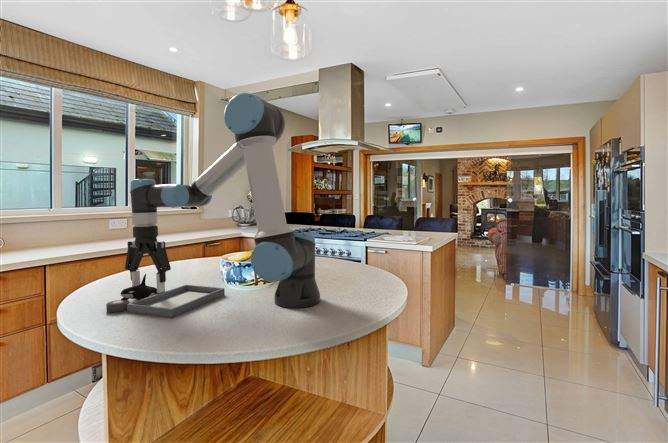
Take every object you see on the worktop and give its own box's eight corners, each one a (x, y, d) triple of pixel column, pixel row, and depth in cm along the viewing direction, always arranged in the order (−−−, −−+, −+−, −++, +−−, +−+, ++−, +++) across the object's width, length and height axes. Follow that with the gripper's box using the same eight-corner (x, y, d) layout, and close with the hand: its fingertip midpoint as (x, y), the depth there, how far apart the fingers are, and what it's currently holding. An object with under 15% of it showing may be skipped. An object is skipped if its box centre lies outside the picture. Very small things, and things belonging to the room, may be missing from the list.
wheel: (134, 308, 112) (133, 300, 112) (117, 314, 106) (116, 305, 106) (119, 306, 114) (118, 298, 114) (101, 312, 108) (101, 303, 108)
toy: (132, 305, 111) (137, 273, 113) (105, 303, 113) (110, 271, 115) (176, 302, 131) (179, 275, 133) (152, 301, 134) (156, 273, 135)
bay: (224, 295, 127) (224, 288, 127) (171, 318, 103) (171, 309, 103) (186, 291, 132) (185, 284, 132) (127, 312, 108) (126, 304, 108)
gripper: (180, 224, 121) (183, 290, 123) (128, 224, 128) (132, 286, 129) (163, 226, 114) (167, 295, 116) (109, 226, 121) (113, 291, 122)
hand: (148, 290), depth 123 cm, fingers open, 10 cm apart
